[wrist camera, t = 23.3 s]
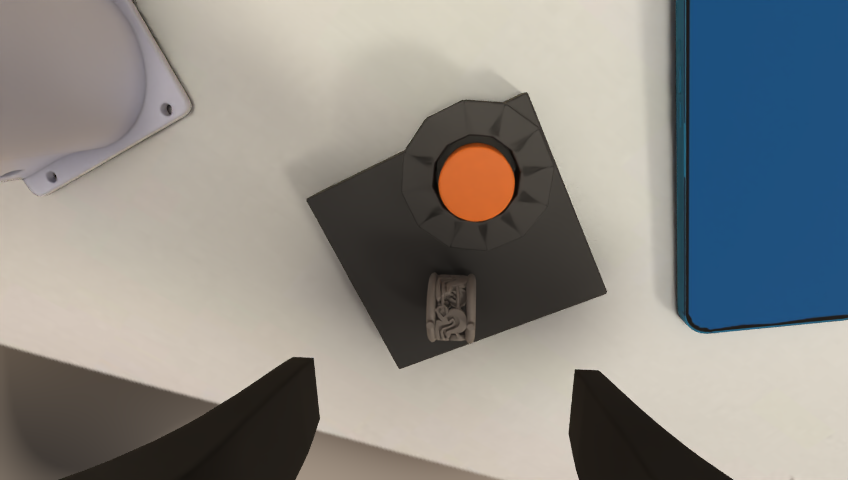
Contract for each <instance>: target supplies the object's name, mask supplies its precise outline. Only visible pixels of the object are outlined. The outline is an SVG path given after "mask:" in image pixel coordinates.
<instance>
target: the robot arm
mask: <svg viewBox="0 0 848 480" xmlns="http://www.w3.org/2000/svg"><path fill="white" fill-rule="evenodd" d="M168 104H169V105H170V106H171V108H172V113H171V115H170V114H169V113H168V112H167V105H168ZM190 110H191V102H190V99H189V98H188V96H187V94H186V92H185V91H184V89H183V87H182V86H181V84H180V82H179V80H178V79H177V77H176V75H175V74H174V72H173V70H172V68H171V67H170V65H169V63H168V62H167V60H166V58H165V56H164V55H163V53H162V51H161V50H160V48H159V46H158V44H157V43H156V41H155V39H154V38H153V36H152V34H151V32H150V31H149V29H148V27H147V26H146V24H145V22H144V20H143V19H142V17H141V15H140V14H139V12H138V10H137V8H136V7H135V5H134V3H133V1H132V0H0V182H5V181H11V180H17V179H23V181H24V182H25V184H26V185H27V186H28V188H29V189H30V191H31V192H32V193H33V194H35V195H37V196H44V195H48V194H51V193H53V192H54V191H56V190H58V189H60V188H61V187H63V186H65V185H66V184H68V183H70V182H72V181H73V180H75V179H77V178H79V177H80V176H82V175H84V174H85V173H87V172H89V171H91V170H92V169H94V168H96V167H98V166H99V165H101V164H103V163H105V162H106V161H108V160H110V159H111V158H113V157H115V156H117V155H118V154H120V153H122V152H124V151H125V150H127V149H129V148H130V147H132V146H134V145H136V144H137V143H139V142H141V141H143V140H144V139H146V138H148V137H150V136H151V135H153V134H155V133H156V132H158V131H160V130H162V129H163V128H165V127H167V126H169V125H170V124H172V123H174V122H175V121H177V120H179V119H181V118H182V117H184V116H186V115H187V114H188V113H189V112H190ZM54 174H55V175H56V177H57V179H56V178H55V176H54ZM319 420H320V415H319V406H318V396H317V387H316V377H315V367H314V358H302V357H292V358H291V359H289V360H287V361H286V362H284V363H282V364H281V365H279V366H278V367H276V368H275V369H273V370H272V371H270V372H269V373H267V374H266V375H265V376H263V377H262V378H260V379H259V380H257V381H256V382H254V383H253V384H251V385H250V386H248V387H247V388H245V389H244V390H242V391H241V392H239V393H238V394H236V395H235V396H233V397H231V398H230V399H228V400H227V401H225V402H223V403H222V404H220V405H218V406H217V407H215V408H214V409H212V410H210V411H209V412H207V413H206V414H204V415H202V416H200V417H199V418H197V419H195V420H193V421H192V422H190V423H188V424H186V425H184V426H183V427H181V428H179V429H177V430H175V431H173V432H171V433H169V434H167V435H165V436H163V437H161V438H159V439H157V440H155V441H153V442H151V443H148V444H146V445H144V446H142V447H139V448H137V449H135V450H133V451H130V452H128V453H126V454H124V455H121V456H119V457H117V458H115V459H112V460H110V461H107V462H105V463H102V464H100V465H97V466H95V467H92V468H90V469H87V470H85V471H82V472H79V473H76V474H73V475H70V476H68V477H65V478H62V479H59V480H295V479H296V477H297V475H298V473H299V471H300V469H301V467H302V465H303V463H304V461H305V459H306V456H307V454H308V452H309V449H310V446H311V444H312V441H313V438H314V435H315V432H316V429H317V426H318V423H319ZM569 438H570V443H571V448H572V453H573V458H574V462H575V467H576V471H577V474H578V478H579V480H733V479H732V478H730V477H729V476H727V475H726V474H724V473H723V472H721V471H720V470H718V469H717V468H715V467H714V466H713V465H711V464H710V463H708V462H707V461H705V460H704V459H702V458H701V457H700V456H698V455H697V454H696V453H694V452H693V451H692V450H690V449H689V448H688V447H686V446H685V445H684V444H682V443H681V442H680V441H679V440H677V439H676V438H675V437H674V436H672V435H671V434H670V433H669V432H667V431H666V430H665V429H664V428H662V427H661V426H660V425H659V424H658V423H656V422H655V421H654V420H653V419H652V418H651V417H649V416H648V415H647V414H646V413H645V412H644V411H643V410H641V409H640V408H639V407H638V406H637V405H636V404H635V403H634V402H633V401H631V400H630V399H629V398H628V397H627V396H626V395H625V394H624V393H623V392H622V391H621V390H619V389H618V388H617V387H616V386H615V385H614V384H613V383H612V382H611V381H610V380H609V379H608V378H607V377H605V376H604V375H603V374H602V373H601V372H600V371H599V370H576V369H575V373H574V383H573V393H572V404H571V414H570V424H569Z"/></svg>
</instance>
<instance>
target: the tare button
mask: <svg viewBox="0 0 848 480" xmlns="http://www.w3.org/2000/svg"><path fill="white" fill-rule="evenodd" d="M438 187H439V193H440V197H441V199H442V201H443V203H444V205H445V206H446V208H447V209H448V210H449V211H450V212H451V213H453V214H454V215H455V216H457V217H459V218H461V219H464V220H467V221H475V222H478V221H485V220H488V219H491V218H493V217H495V216H497V215H498V214H500V213H501V212H502V211H503V210H504V209H505V208H506V207H507V205H508V204H509V202H510V201H511V199H512V196H513V193H514V188H515V178H514V173H513V171H512V168H511V166H510V164H509V163H508V161H507V160H506V158H505V157H504V155H503V154H502V153H501V152H500V151H499V150H497V149H496V148H494V147H492V146H490V145H487V144H484V143H470V144H466V145H463V146H461V147H459V148H457V149H456V150H455V151H453V152H452V153H451V154H450V155H449V157H448V158H447V160H446V161H445V163H444V165H443V167H442V170H441V172H440V175H439V181H438Z"/></svg>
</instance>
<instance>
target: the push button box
mask: <svg viewBox="0 0 848 480" xmlns="http://www.w3.org/2000/svg"><path fill="white" fill-rule="evenodd" d="M470 143H484V144H487V145H490V146H492V147H494V148H496V149H497V150H499V151H500V152H501V153H502V154H503V155H504V157H505V158H506V160H507V161H508V163H509V164H510V166H511V168H512V171H513V173H514V178H515V188H514V193H513V196H512V199H511V201H510V202H509V204H508V205H507V207H506V208H505V209H504V210H503V211H502V212H501V213H500V214H498V215H497V216H495V217H493V218H491V219H488V220H485V221H478V222H475V221H467V220H464V219H461V218H459V217H457V216H455V215H454V214H453V213H451V212H450V211H449V210H448V209H447V208H446V206H445V205H444V203H443V201H442V199H441V197H440V193H439V187H438V181H439V175H440V172H441V170H442V167H443V165H444V163H445V161H446V160H447V158H448V157H449V155H450V154H451V153H452V152H453V151H455V150H456V149H457V148H459V147H461V146H463V145H466V144H470ZM307 202H308V204H309V206H310V208H311V210H312V211H313V213H314V215H315V217H316V219H317V220H318V222H319V224H320V226H321V228H322V230H323V231H324V233H325V235H326V237H327V239H328V241H329V242H330V244H331V246H332V248H333V250H334V251H335V253H336V255H337V257H338V259H339V261H340V262H341V264H342V266H343V268H344V270H345V271H346V273H347V275H348V277H349V279H350V281H351V282H352V284H353V286H354V288H355V290H356V291H357V293H358V295H359V297H360V299H361V301H362V302H363V304H364V306H365V308H366V310H367V311H368V313H369V315H370V317H371V319H372V321H373V322H374V324H375V326H376V328H377V330H378V331H379V333H380V335H381V337H382V339H383V341H384V342H385V344H386V346H387V348H388V350H389V352H390V353H391V355H392V357H393V359H394V361H395V362H396V364H397V366H398V368H399V369H401V368H404V367H407V366H410V365H412V364H415V363H418V362H421V361H423V360H426V359H429V358H431V357H434V356H437V355H440V354H442V353H445V352H448V351H451V350H453V349H456V348H459V347H462V346H464V345H467V344H469V343H468V342H467V341H466V340H463V341H452V340H448V341H442V340H437V339H436V340H435V341H434V342H431V341H430V340H429V339H428V336H427V326H426V307H427V291H428V283H429V278H430V276H431V274H432V273H434V272H435V273H437V274H438V275H444V274H446V275H465V276H468V275H469V274H473V275H474V276H475V279H476V320H475V338H474V341H473V342H475V341H478V340H481V339H484V338H486V337H489V336H492V335H494V334H497V333H500V332H503V331H505V330H508V329H511V328H514V327H516V326H519V325H522V324H525V323H527V322H530V321H533V320H536V319H538V318H541V317H544V316H547V315H549V314H552V313H555V312H557V311H560V310H563V309H566V308H568V307H571V306H574V305H577V304H579V303H582V302H585V301H588V300H590V299H593V298H596V297H599V296H601V295H604V294H606V293H607V291H606V288H605V286H604V283H603V280H602V278H601V275H600V273H599V270H598V268H597V265H596V263H595V260H594V258H593V255H592V253H591V250H590V248H589V245H588V243H587V240H586V238H585V235H584V233H583V230H582V228H581V225H580V223H579V220H578V218H577V215H576V213H575V210H574V208H573V205H572V203H571V200H570V198H569V195H568V193H567V190H566V188H565V185H564V183H563V180H562V178H561V175H560V173H559V170H558V168H557V165H556V163H555V160H554V158H553V155H552V153H551V150H550V148H549V145H548V143H547V140H546V137H545V135H544V132H543V130H542V127H541V125H540V122H539V120H538V117H537V115H536V112H535V110H534V107H533V105H532V102H531V100H530V97H529V95H528V93H527V92H526V93H521V94H519V95H517V96H515V97H513V98H511V99H509V100H507V101H505V102H503V103H502V102H489V101H476V100H461V101H459V102H457V103H455V104H453V105H451V106H449V107H447V108H445V109H443V110H441V111H439V112H437V113H435V114H433V115H431V116H429V117H427V118H426V119H425V120H424V122H423V123H422V125H421V126H420V128H419V129H418V131H417V132H416V134H415V136H414V137H413V139H412V140H411V142H410V143H409V145H408V146H407V148H406V149H405V150H404V151H402V152H400V153H398V154H396V155H394V156H392V157H390V158H388V159H386V160H384V161H382V162H380V163H378V164H376V165H374V166H372V167H369V168H367V169H365V170H363V171H361V172H359V173H357V174H355V175H353V176H351V177H349V178H347V179H345V180H343V181H341V182H339V183H337V184H335V185H333V186H330V187H328V188H326V189H324V190H322V191H320V192H318V193H316V194H314V195H313V196H311V197H309V198H307ZM465 288H466V287H465ZM440 302H441V301H440ZM451 308H455V307H453V306H452V305H451V307H450V308H449V310H450V309H451ZM461 309H462V310H463V311H464V312H465V313H466V304H465V305H464V306H462V307H461Z"/></svg>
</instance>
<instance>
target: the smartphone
mask: <svg viewBox="0 0 848 480" xmlns="http://www.w3.org/2000/svg"><path fill="white" fill-rule="evenodd" d="M676 142H677V309H678V314H679V316H680V318H681V319H682V320H683V321H684V322H685V323H686V324H687V325H688V326H689V327H690V328H691V329H692V330H694V331H696V332H699V333H704V334H708V333H719V332H730V331H740V330H750V329H760V328H771V327H781V326H791V325H801V324H812V323H822V322H832V321H842V320H848V0H676Z"/></svg>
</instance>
